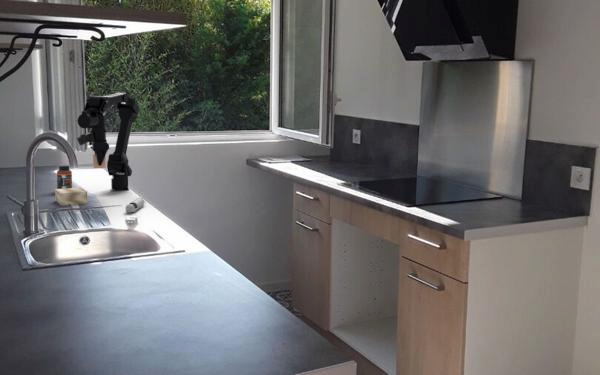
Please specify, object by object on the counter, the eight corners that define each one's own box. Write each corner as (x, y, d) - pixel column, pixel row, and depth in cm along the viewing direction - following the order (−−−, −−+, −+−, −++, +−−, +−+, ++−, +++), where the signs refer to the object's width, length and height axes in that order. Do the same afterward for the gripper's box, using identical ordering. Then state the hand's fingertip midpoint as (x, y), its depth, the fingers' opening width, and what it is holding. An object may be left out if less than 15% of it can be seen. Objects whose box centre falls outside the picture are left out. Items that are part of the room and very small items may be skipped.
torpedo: (135, 214, 233) (135, 197, 232) (122, 214, 233) (122, 196, 232) (148, 205, 251) (148, 188, 250) (136, 204, 251) (136, 188, 250)
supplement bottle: (67, 193, 268) (66, 166, 266) (54, 192, 270) (53, 165, 268) (75, 190, 274) (74, 164, 272) (62, 190, 275) (61, 164, 273)
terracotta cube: (104, 166, 266) (104, 154, 265) (105, 167, 262) (105, 155, 261) (93, 166, 264) (92, 154, 263) (94, 168, 260) (93, 155, 259)
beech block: (81, 199, 257) (81, 187, 257) (87, 204, 249) (87, 191, 248) (55, 201, 252) (55, 189, 251) (60, 206, 244) (60, 193, 243)
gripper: (75, 125, 266) (76, 162, 268) (79, 128, 249) (80, 168, 251) (103, 125, 270) (104, 161, 273) (109, 128, 253) (109, 167, 256)
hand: (99, 164), depth 263 cm, fingers closed on terracotta cube, 4 cm apart
